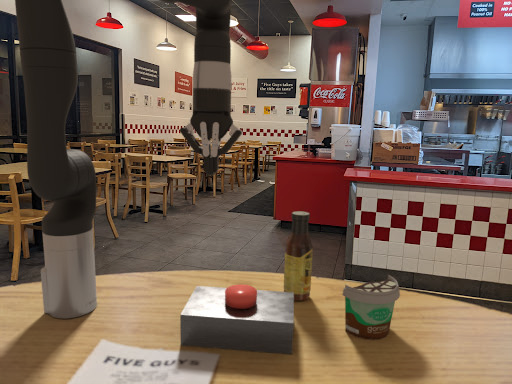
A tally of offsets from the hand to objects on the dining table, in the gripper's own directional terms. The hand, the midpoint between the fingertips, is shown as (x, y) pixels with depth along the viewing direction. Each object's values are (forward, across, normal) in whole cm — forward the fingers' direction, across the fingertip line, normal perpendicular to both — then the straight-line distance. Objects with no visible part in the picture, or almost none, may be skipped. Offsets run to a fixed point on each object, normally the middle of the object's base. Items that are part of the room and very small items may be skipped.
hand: (211, 174), depth 80 cm
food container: (+29, +34, -7) cm, 45 cm away
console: (+29, +8, -10) cm, 32 cm away
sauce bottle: (+29, +19, +7) cm, 35 cm away
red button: (+27, +8, -10) cm, 30 cm away
